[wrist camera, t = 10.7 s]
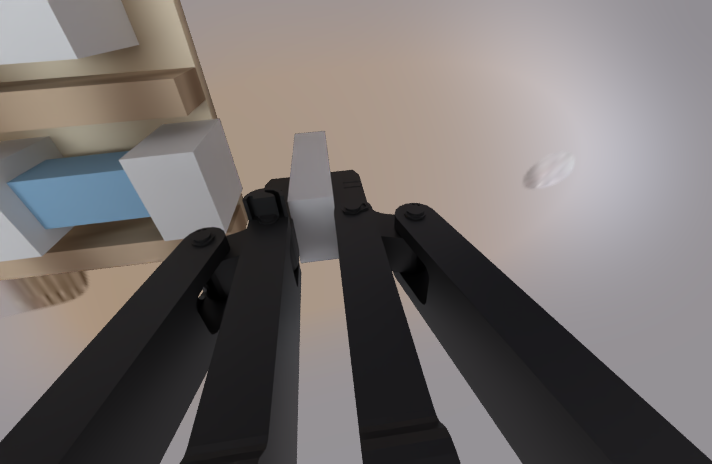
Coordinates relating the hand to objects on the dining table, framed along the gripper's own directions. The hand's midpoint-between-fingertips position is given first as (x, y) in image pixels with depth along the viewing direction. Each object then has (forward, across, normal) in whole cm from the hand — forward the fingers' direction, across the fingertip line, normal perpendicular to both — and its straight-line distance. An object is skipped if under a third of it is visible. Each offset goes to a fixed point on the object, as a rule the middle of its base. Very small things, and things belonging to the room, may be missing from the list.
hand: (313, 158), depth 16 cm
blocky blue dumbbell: (+1, -10, 0) cm, 10 cm away
